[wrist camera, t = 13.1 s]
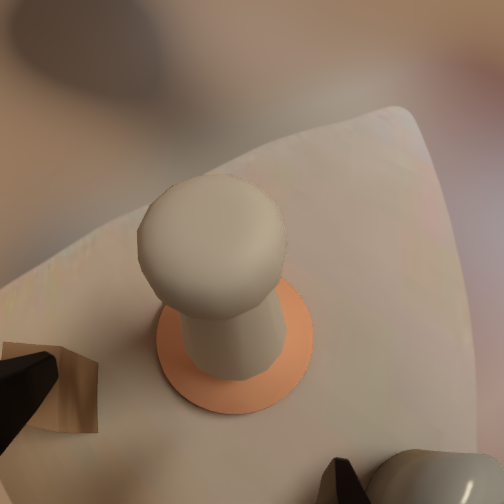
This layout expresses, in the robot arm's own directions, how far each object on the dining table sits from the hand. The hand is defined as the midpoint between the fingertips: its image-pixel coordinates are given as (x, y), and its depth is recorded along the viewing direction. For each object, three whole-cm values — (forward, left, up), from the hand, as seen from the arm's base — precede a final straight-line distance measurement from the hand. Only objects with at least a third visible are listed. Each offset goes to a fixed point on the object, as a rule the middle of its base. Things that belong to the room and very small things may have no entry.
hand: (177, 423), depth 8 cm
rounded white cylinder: (-3, -13, -11) cm, 18 cm away
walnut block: (-3, +11, -11) cm, 16 cm away
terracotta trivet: (+5, +1, -11) cm, 13 cm away
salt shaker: (+5, 0, -11) cm, 12 cm away
